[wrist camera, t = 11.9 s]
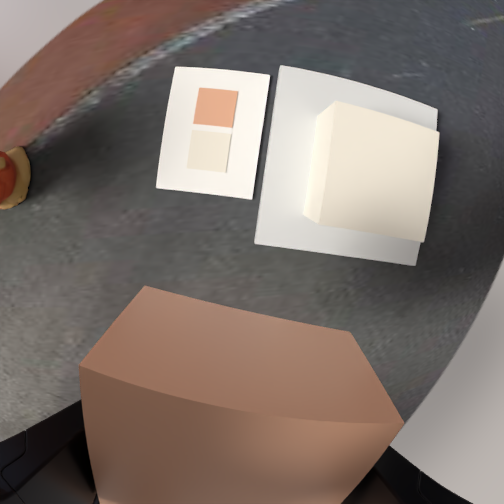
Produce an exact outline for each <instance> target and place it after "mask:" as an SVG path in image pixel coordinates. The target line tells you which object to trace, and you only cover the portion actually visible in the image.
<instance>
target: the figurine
mask: <svg viewBox="0 0 504 504" xmlns="http://www.w3.org/2000/svg"><path fill="white" fill-rule="evenodd" d="M29 181H30V163H29V160H28V157H27V155H26V153H25V151H24V149H23V148H22V147H20V146H17V147H14V148H13V149H11V150H9V151H7V152H1V151H0V209H8V208H11V207H13V206H17V205H18V203H20V202H22V201H23V200H24V199H26V194H27V191H28V190H29V189H28V188H27V187H28V186H29Z"/></svg>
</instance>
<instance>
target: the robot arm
mask: <svg viewBox="0 0 504 504" xmlns="http://www.w3.org/2000/svg"><path fill="white" fill-rule="evenodd" d="M0 504H100V502H99V498H98V494H97V490H96V486H95V482H94V477H93V472H92V468H91V463H90V457H89V452H88V446H87V440H86V433H85V426H84V418H83V410H82V401H81V400H79V401H77V402H75V403H74V404H72V405H70V406H68V407H67V408H65V409H63V410H61V411H59V412H57V413H56V414H54V415H52V416H50V417H48V418H47V419H45V420H43V421H41V422H39V423H37V424H35V425H34V426H32V427H30V428H28V429H26V431H22V432H20V433H18V434H16V435H14V436H12V437H10V438H8V439H6V440H4V441H2V442H0ZM341 504H473V503H471V502H469V501H467V500H465V499H464V498H462V497H460V496H458V495H457V494H455V493H453V492H451V491H450V490H448V489H446V488H445V487H443V486H442V485H440V484H439V483H437V482H436V481H434V480H433V479H432V478H430V477H429V476H428V475H426V474H425V473H424V472H422V471H420V469H418V468H417V467H416V466H414V465H413V464H412V463H410V462H409V461H408V460H407V459H406V458H404V457H403V456H402V455H401V454H399V453H398V452H397V451H395V450H394V449H393V448H392V447H391V446H388V447H387V449H386V450H385V451H384V453H383V454H382V455H381V457H380V458H379V459H378V461H377V462H376V463H375V464H374V466H373V467H372V468H371V469H370V471H369V472H368V473H367V474H366V475H365V477H364V478H363V479H362V480H361V481H360V483H359V484H358V485H357V486H356V487H355V488H354V489H353V491H352V492H351V493H350V494H349V495H348V496H347V497H346V498H345V499H344V500H343V502H342V503H341Z"/></svg>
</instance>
